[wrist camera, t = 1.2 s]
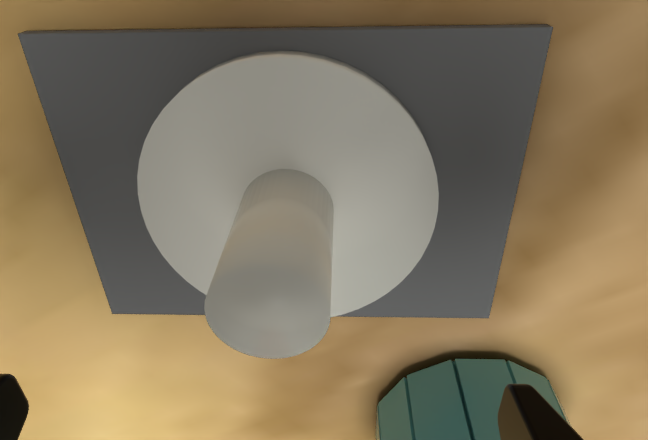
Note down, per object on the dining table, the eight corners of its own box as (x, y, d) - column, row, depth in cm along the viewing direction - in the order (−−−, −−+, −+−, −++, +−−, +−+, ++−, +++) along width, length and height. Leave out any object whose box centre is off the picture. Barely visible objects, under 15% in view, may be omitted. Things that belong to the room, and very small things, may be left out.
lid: (451, 48, 13) (510, 118, 8) (420, 306, 17) (447, 441, 13) (114, 52, 13) (-8, 121, 8) (175, 304, 18) (118, 434, 13)
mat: (547, 24, 13) (553, 27, 12) (486, 310, 18) (488, 318, 17) (26, 30, 13) (17, 33, 13) (116, 306, 18) (112, 313, 18)
